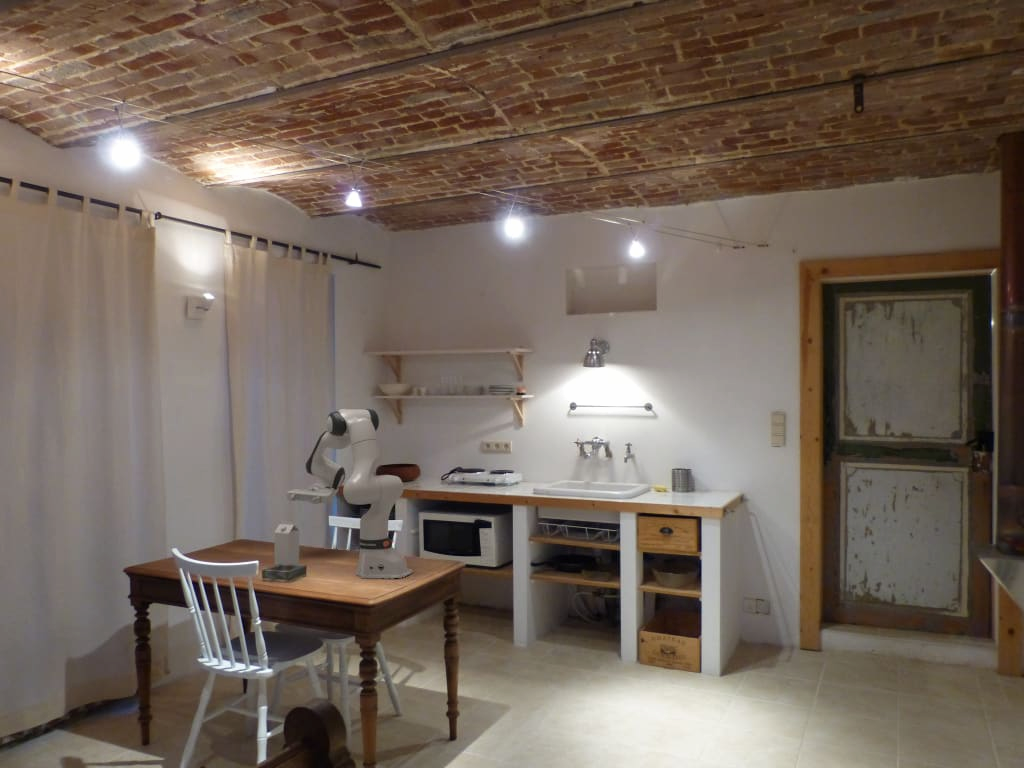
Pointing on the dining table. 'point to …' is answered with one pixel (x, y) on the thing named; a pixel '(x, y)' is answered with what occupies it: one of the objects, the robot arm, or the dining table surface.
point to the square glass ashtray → (284, 572)
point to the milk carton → (287, 544)
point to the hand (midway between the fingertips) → (301, 500)
